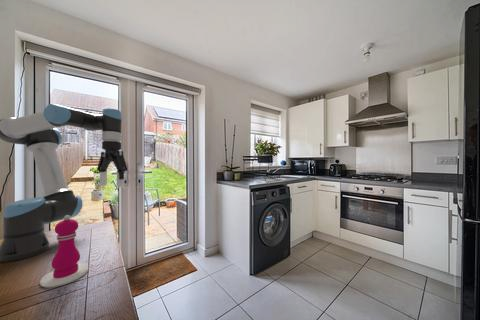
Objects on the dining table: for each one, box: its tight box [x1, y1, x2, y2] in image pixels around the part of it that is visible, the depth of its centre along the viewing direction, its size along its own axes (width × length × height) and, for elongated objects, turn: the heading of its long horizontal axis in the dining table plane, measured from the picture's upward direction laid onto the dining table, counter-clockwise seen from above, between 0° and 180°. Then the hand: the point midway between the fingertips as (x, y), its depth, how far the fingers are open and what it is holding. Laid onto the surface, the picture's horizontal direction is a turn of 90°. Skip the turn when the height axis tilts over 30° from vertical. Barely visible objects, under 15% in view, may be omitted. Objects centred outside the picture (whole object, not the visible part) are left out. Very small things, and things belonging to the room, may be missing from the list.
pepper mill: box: [51, 215, 81, 278], centre depth 63 cm, size 7×7×20 cm
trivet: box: [39, 263, 89, 289], centre depth 63 cm, size 12×12×1 cm
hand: (111, 185), depth 86 cm, fingers open, 13 cm apart
